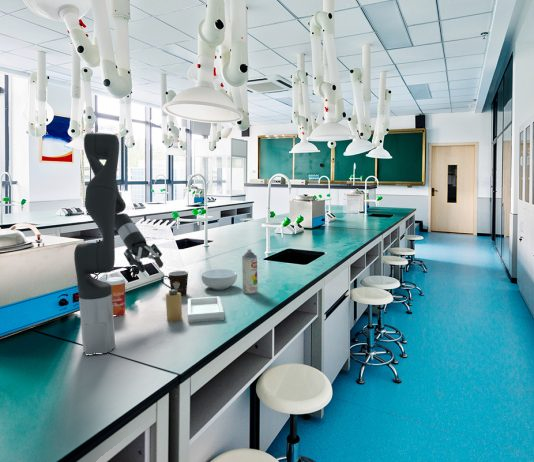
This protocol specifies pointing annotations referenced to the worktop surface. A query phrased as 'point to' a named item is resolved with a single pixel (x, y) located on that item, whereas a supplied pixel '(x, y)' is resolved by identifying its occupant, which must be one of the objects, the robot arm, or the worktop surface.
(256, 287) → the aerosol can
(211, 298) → the lab tray
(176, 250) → the worktop surface
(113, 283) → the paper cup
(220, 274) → the cereal bowl
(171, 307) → the amber bottle
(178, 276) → the coffee mug
